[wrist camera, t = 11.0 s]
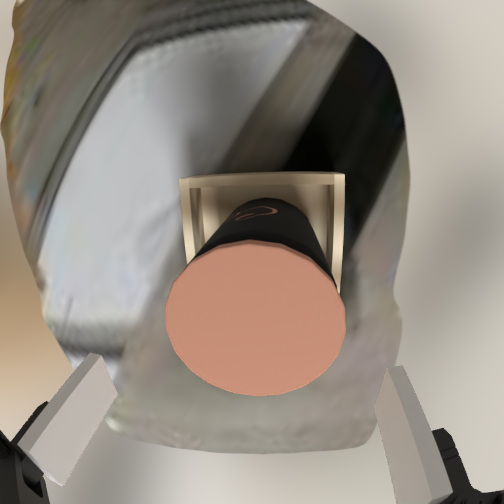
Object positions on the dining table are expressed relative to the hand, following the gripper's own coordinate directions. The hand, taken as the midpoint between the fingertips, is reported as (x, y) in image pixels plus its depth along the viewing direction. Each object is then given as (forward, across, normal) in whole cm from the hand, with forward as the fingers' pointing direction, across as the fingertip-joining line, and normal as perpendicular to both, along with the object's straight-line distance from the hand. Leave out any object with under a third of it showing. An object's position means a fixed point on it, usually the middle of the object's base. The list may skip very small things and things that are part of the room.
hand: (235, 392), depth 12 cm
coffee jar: (+23, 0, 0) cm, 23 cm away
